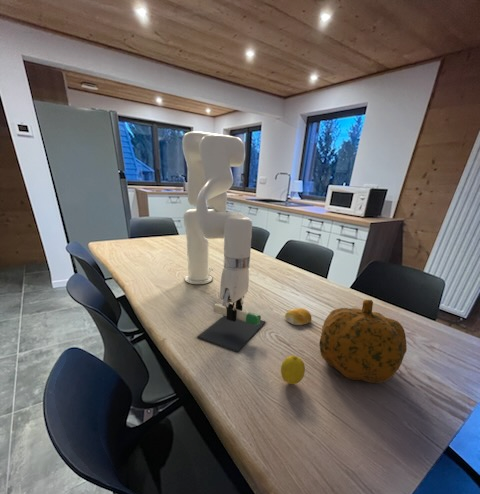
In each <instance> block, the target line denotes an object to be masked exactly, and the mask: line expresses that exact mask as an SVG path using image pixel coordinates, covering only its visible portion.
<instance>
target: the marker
mask: <svg viewBox="0 0 480 494" xmlns="http://www.w3.org/2000/svg"><path fill="white" fill-rule="evenodd" d="M212 309H213V310H212V312H213V313H214V314H218V315H220V316H221V315H222V316H227V309H226V307H225V306H222V304H220V303H215V304H214V306H213V308H212ZM236 310H237V315H236V319H238V320H241V321H245V322H247V323H250V324H254V325H259V323H260V320H262V316H261V315H260V314H258V313H254V312H250V311H244V310H243V309H242V310H238V309H236Z"/></svg>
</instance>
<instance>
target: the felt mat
mask: <svg viewBox="0 0 480 494" xmlns="http://www.w3.org/2000/svg"><path fill="white" fill-rule="evenodd" d="M265 324H266V321H265V320H262V319H261V320H260V323H259V325H254V324H250V323H247V322H245V321H241V320H238V319H236V321H235V322H234V321H230V320H227V316H224V315H222V317H220V318H219V319H218V320H217V321H216V322H214V323H213V324H211V325H210V326H209V327H208V328H207V329H204V330H203V332H201V333H200V334H199V335H197V338H198V339H200V340H202V341H205V342H209V343H211V344H214V345H216V346H219V347H222V348H224V349H227V350H230V351H233V352H236V353H238V352H240V351H241V350H242V349H243V347H244V346H245V345H247V343H248V342H249V341H250V340H251V339H252V338H253V337H254V335H255V334H256V333H258V331H259V330H260V329H262V327H263V326H264V325H265Z"/></svg>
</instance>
